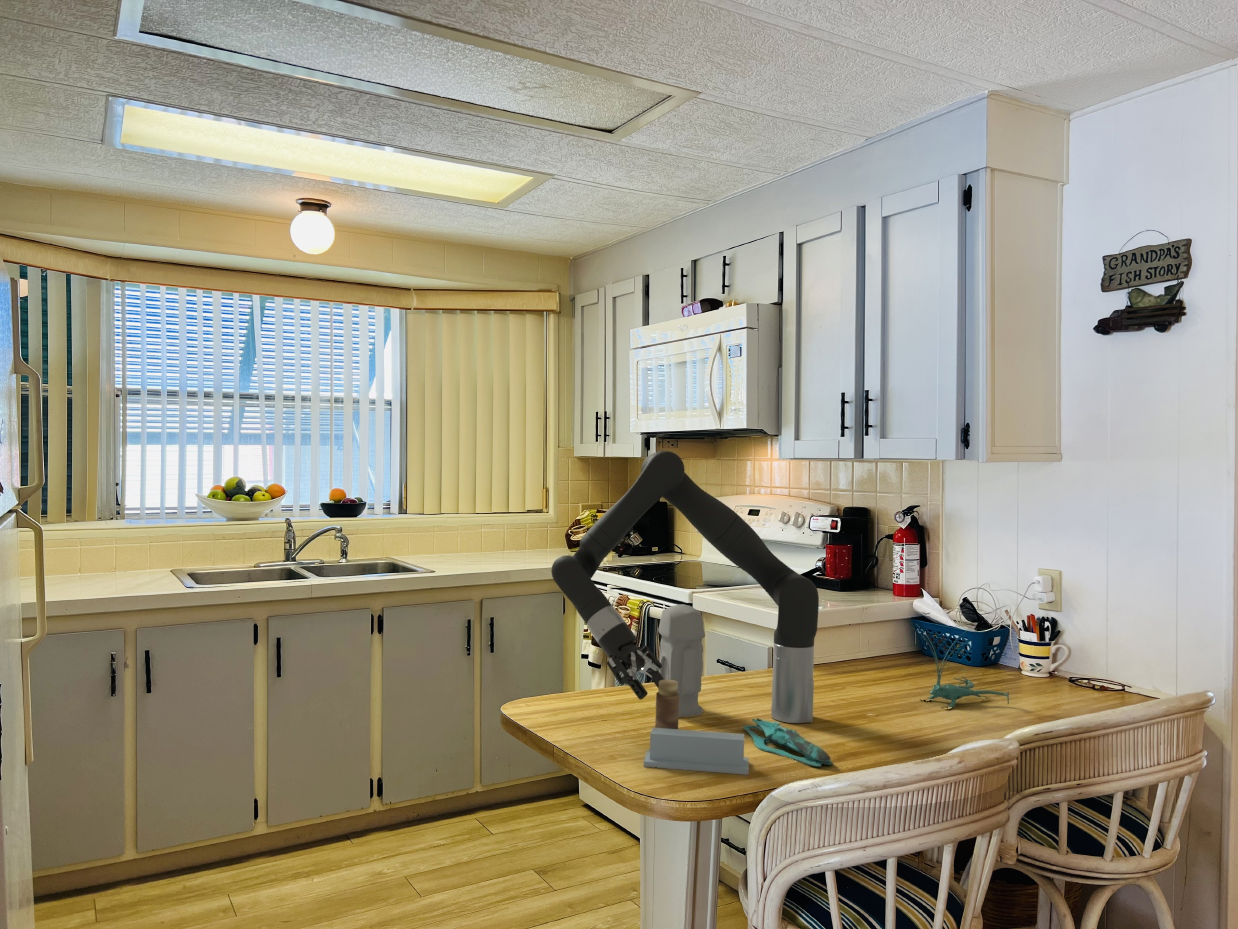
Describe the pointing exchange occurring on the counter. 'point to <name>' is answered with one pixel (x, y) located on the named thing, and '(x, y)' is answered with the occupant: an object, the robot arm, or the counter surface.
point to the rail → (697, 751)
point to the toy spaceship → (787, 743)
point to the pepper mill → (667, 705)
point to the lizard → (956, 686)
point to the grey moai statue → (683, 654)
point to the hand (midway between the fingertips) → (654, 693)
